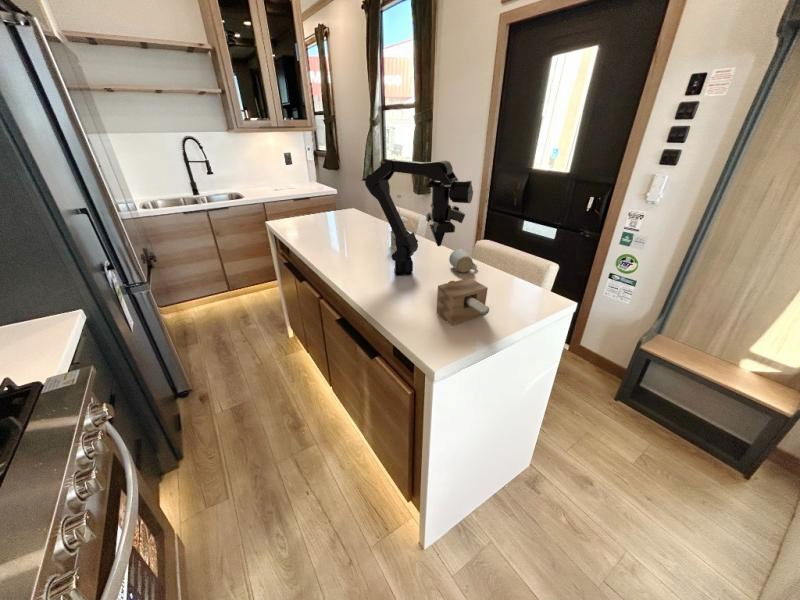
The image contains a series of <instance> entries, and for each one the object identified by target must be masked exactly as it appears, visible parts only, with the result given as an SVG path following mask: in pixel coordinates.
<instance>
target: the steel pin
mask: <svg viewBox="0 0 800 600" xmlns="http://www.w3.org/2000/svg"><path fill="white" fill-rule="evenodd" d="M455 281H456V280H449V281H448V282H447V283H451V282H455ZM464 303H465V304H466V305H468V306H469V307H471V308H472V309H474V310H475V311H476V312H478V313H479V314H481V315H482V316H481V317H485V316H487V315H488V314H489V312H490V307H489V306H487V305H486V304H485V305H484V304H483V303H481V302H480V301H478V300H476V299H475V298H473V297H472V296H466V297H464Z"/></svg>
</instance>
